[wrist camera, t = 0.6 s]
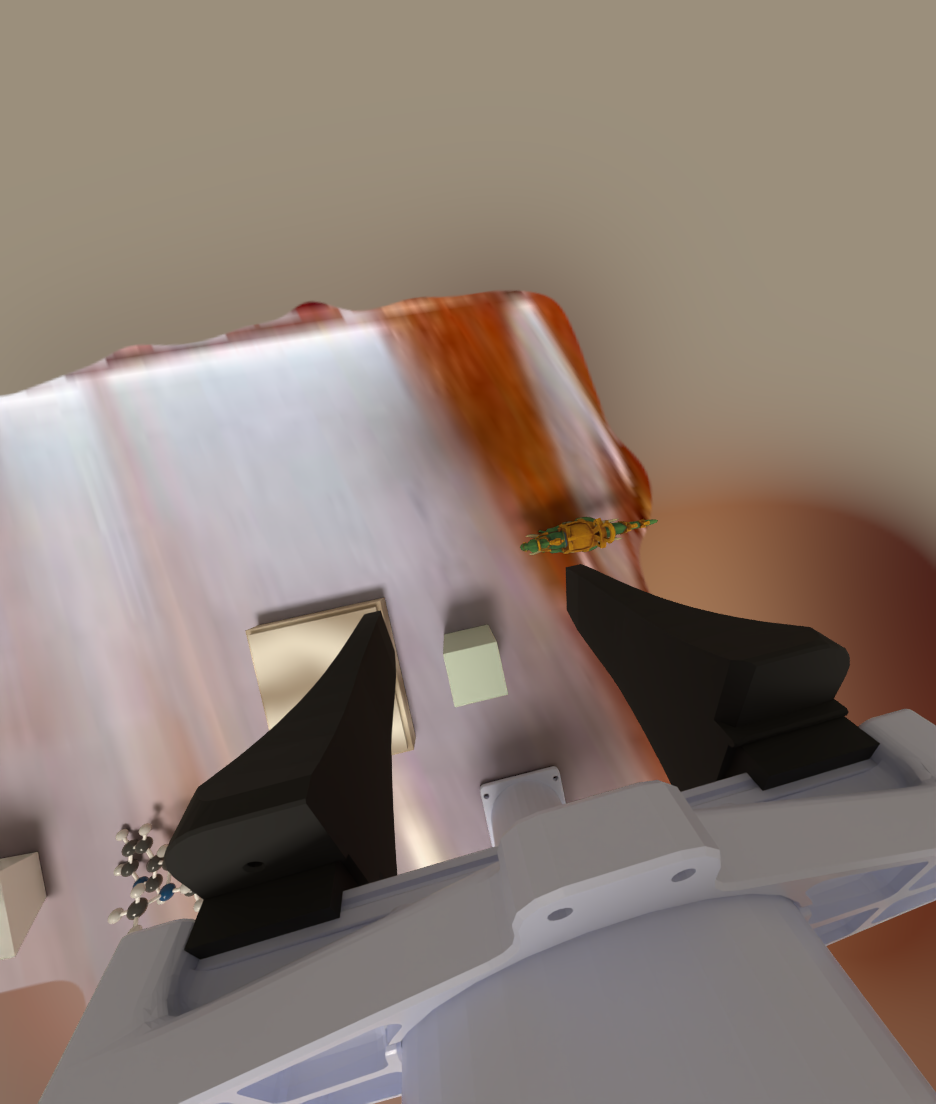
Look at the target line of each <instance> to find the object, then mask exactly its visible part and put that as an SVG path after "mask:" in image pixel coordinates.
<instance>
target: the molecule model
mask: <svg viewBox="0 0 936 1104" xmlns="http://www.w3.org/2000/svg"><path fill="white" fill-rule="evenodd" d="M151 828H152V825H151V824H149V823H147V824H144V825H143V826H142V827H141V828H140V829H139V834H140V835H142V836H143V838H142V839H141V840H136V839H134V840H131V841H129V840H128V839H127V836H128V833H129V831H128V830H127V829H122V830H120V831H119V832H118V833H117V835H116V840H117V841H121V840H123V841H124V842H125V845H124V847H123V849H122V855H123V856H125V857H129V858H128V862H126V863H125V864H120V865H118V866H117V867H116V868H115V870H114V875H115V876H120V875H122V876H123V877H128V876H130V875H132V876H133V877H134V879H135V880H136V882H135V883H134V885H133V888H132V890H131V893H130V896H131V897H132V898H136V900H135V901H134V902H133V903H132V904H131V905H130V906H129V908H128V910H126V911H124V910H123V909H122V908H117V909H115V910H114V911H112V912H111V914H110V915H109V917H108V922H109V923H110V924H114V923H116V922H118V921H119V920H120V919H121V918H122V916H123V915H126V914H127V918H128V919H129V920H134V924H133V927H132V928H131V929H130V931H129V932H128V934H129V933H132V932H135V931H139V930H142V926H141V925H138V918H139V917H140V916H141V915H142V914H143V913H144V912H145V911H146V909H147V906H148V904H150V903H152V902H154V901H155V900H157V904H159V905H161V904H163V903H165V902H166V901H167V900H169V899H170V898H171V897H172V896H173V895H174V893H175V892H178V891H180V893H181V894H184V895H185V896H188V897H189V896H193V895H194V896H195V899H196V902H195V904H194V911H195V912H199V910H200V907H201V905H202V902H203V899H202V898H200V897H199V896H198V895H197V894H195V893H194V892H193V891H191V890H190V889H189V888H187V887H186V886H185V885H183V884H182V885H181V887H179V888H176V886H175V884H174V883H170V881H171V874H170V873H169V872H168V876H167V883H166V885H165V886H163V887H162V889H160V888H159V887H160V885H161V884H162V881H163V877H162V875H161V874H157V870H159V869H160V868H161V867H162V868H163V869H164V870H166V871H167V869H166V867H165V863H164V859H163V857H164V854H165V851H166V848H167V846H168V844H165V845H163V846H161V847H160V848H159V850H158V852H157V855H155V856H154V855H153V853H152V852H151V850H150V848H151V846H152V844H153V839H152V838H151V837H147V834H148V833H149V832H150V831H151ZM145 852H146V853H147V855H148V856H149V858H150V860H149V862H148V863H147V871H148V872H153V876H151V877H150V878H148V877H147V876H143V877H140V878H139V877H138V875H137V874H136V872H135V871H136V870H137V869H138V866H139V861H138V860H137V859H132V858H133V854H135V853H137V854H143V853H145ZM155 890H156V891H157V893H158V896H156V897H154V898H152V899H150V900H147V899H146V898H140V896H141V895H142V894H143V893H144V891H146V892H149V893H150V892H153V891H155Z"/></svg>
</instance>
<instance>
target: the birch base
mask: <svg viewBox="0 0 936 1104" xmlns="http://www.w3.org/2000/svg"><path fill="white" fill-rule="evenodd" d="M380 610H381V613H382V616H383V618H384V621H385V624H386V627H387V630H388V633H389V636H390V638H391V641H392V644H393V647H394V650H395V660H396V687H395V700H394V713H393V726H392V744H391V752H392V755H395V754H399V753H403V752H407V751H411V750H414V745H415V739H416V736H415V732H414V727H413V723H412V718H411V714H410V709H409V705H408V701H407V696H406V692H405V687H404V683H403V678H402V674H401V669H400V665H399V660H398V656H397V652H396V647H395V643H394V638H393V634H392V629H391V625H390V620H389V616H388V611H387V607H386V602H385V598H380V599H375V600H371V601H366V602H361V603H357V604H352V605H348V606H343V607H339V608H334V609H330V610H325V611H321V612H316V613H312V614H307V615H303V616H298V617H294V618H289V619H285V620H280V621H276V622H271V623H267V624H262V625H258V626H256V627H253V628H251V629H248V630H246V635H247V639H248V643H249V648H250V652H251V656H252V660H253V664H254V669H255V673H256V677H257V681H258V685H259V690H260V694H261V698H262V702H263V706H264V711H265V715H266V719H267V723H268V727H269V730H271V729H272V728H273V727H274V726H275V725H276V724H277V723H278V722H279V721H280V720H281V719H282V718H283V717H284V716H285V715H286V714H287V713H288V712H289V711H290V710H291V709H292V708H293V707H294V706H295V705H296V704H297V703H298V702H299V701H300V700H301V699H302V698H303V697H304V696H305V695H306V694H307V693H308V692H309V690H310V689H311V688H312V687H313V686H314V685H315V684H316V682H317V681H318V680H319V679H320V678H321V676H322V675H323V674H324V672H325V671H326V670H327V668H328V667H329V666H330V664H331V663H332V662H333V660H334V659H335V658H336V656H337V655H338V653H339V652H340V650H341V649H342V648H343V646H344V645H345V643H346V642H347V640H348V639H349V637H350V635H351V634H352V632H353V631H354V629H355V628H356V626H357V624H358V623H359V621H360V620H361V618H362V617H363V615H364V614H367V613H371V612H376V611H380Z"/></svg>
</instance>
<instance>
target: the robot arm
mask: <svg viewBox="0 0 936 1104" xmlns="http://www.w3.org/2000/svg"><path fill="white" fill-rule="evenodd" d="M566 596H567V611H568V613H569V615H570V617H571V619H572V621H573V622H574V624H575V626H576V628H577V630H578V631H579V633H580V634H581V636H582V637H583V638H584V640H585V641H586V643H587V644H588V645H589V647H590V648H591V649H592V651H593V652H594V653H595V655H596V656H597V658H598V659H599V660H600V662H601V663H602V664H603V666H604V667H605V668H606V670H607V671H608V673H609V674H610V675H611V677H612V678H613V680H614V681H615V683H616V684H617V686H618V687H619V689H620V690H621V692H622V694H623V696H624V697H625V699H626V701H627V702H628V704H629V706H630V707H631V709H632V711H633V713H634V714H635V716H636V718H637V720H638V722H639V723H640V725H641V727H642V729H643V731H644V732H645V734H646V736H647V738H648V740H649V742H650V744H651V746H652V747H653V749H654V751H655V753H656V755H657V757H658V759H659V761H660V763H661V765H662V767H663V768H664V770H665V773H666V775H667V777H668V779H669V781H670V783H671V785H670V784H667V783H664V782H661V781H659V780H655V781H647V782H640V783H635V784H632V785H628V786H625V787H621V788H618V789H615V790H611V791H608V792H604V793H601V794H597V795H594V796H590V797H587V798H583V799H580V800H576V801H573V802H570V803H566V801H565V796H564V791H563V787H562V782H561V777H560V772H559V770H558V768H557V767H555V766H552V767H548V768H544V769H540V770H536V771H533V772H529V773H525V774H521V775H517V776H513V777H509V778H505V779H501V780H497V781H493V782H490V783H486V784H483V785H481V787H480V793H481V798H482V803H483V807H484V812H485V816H486V821H487V825H488V830H489V834H490V839H491V844H492V848H488V849H485V850H481V851H478V852H475V853H471V854H468V855H464V856H461V857H458V858H454V859H451V860H447V861H444V862H441V863H437V864H434V865H430V866H427V867H424V868H420V869H417V870H413V871H410V872H407V873H403V874H400V875H397V864H396V850H395V832H394V813H393V788H392V752H391V744H392V726H393V713H394V700H395V687H396V660H395V650H394V647H393V644H392V641H391V638H390V636H389V633H388V630H387V627H386V624H385V621H384V618H383V616H382V613H381V610H380V611H376V612H371V613H367V614H364V615H363V617H362V618H361V620H360V621H359V623H358V624H357V626H356V628H355V629H354V631H353V632H352V634H351V635H350V637H349V639H348V640H347V642H346V643H345V645H344V646H343V648H342V649H341V650H340V652H339V653H338V655H337V656H336V658H335V659H334V660H333V662H332V663H331V664H330V666H329V667H328V668H327V670H326V671H325V672H324V674H323V675H322V676H321V678H320V679H319V680H318V681H317V682H316V684H315V685H314V686H313V687H312V688H311V689H310V690H309V692H308V693H307V694H306V695H305V696H304V697H303V698H302V699H301V700H300V701H299V702H298V703H297V704H296V705H295V706H294V707H293V708H292V709H291V710H290V711H289V712H288V713H287V714H286V715H285V716H284V717H283V718H282V719H281V720H280V721H279V722H278V723H277V724H276V725H275V726H274V727H273V728H272V729H271V730H269V731H268V732H267V733H266V734H265V735H264V736H263V737H262V738H260V739H259V740H258V741H257V742H256V743H255V744H253V745H252V746H251V747H250V748H249V749H247V750H246V751H245V752H244V753H242V754H241V755H240V756H239V757H238V758H236V759H235V760H234V761H232V762H231V763H230V764H228V765H227V766H226V767H224V768H223V769H222V770H220V771H219V772H218V773H216V774H215V775H214V776H213V777H211V778H210V779H209V780H207V781H206V782H205V783H203V784H202V785H200V786H199V787H198V788H197V790H196V792H195V794H194V795H193V797H192V799H191V801H190V803H189V805H188V807H187V809H186V811H185V813H184V815H183V817H182V819H181V821H180V823H179V825H178V827H177V829H176V831H175V833H174V834H173V836H172V838H171V840H170V842H169V844H168V846H167V848H166V851H165V854H164V857H163V859H164V863H165V867H166V869H167V871H168V872H169V873H170V874H171V875H172V876H173V877H174V878H175V879H177V880H178V881H179V882H181V883H182V884H183V885H185V886H186V887H187V888H189V889H190V890H191V891H193V892H194V893H195V894H197V895H198V896H199V897H201V898H202V899H203V902H202V905H201V907H200V910H199V913H198V915H197V918H196V920H194V919H179V920H173V921H170V922H167V923H163V924H160V925H156V926H153V927H149V928H146V929H142V930H139V931H135V932H132V933H129V934H127V935H126V936H124V937H123V938H122V939H121V941H120V943H119V945H118V947H117V949H116V951H115V953H114V955H113V957H112V958H111V960H110V962H109V964H108V966H107V968H106V970H105V972H104V974H103V976H102V978H101V980H100V982H99V984H98V986H97V988H96V990H95V992H94V994H93V996H92V998H91V1000H90V1002H89V1004H88V1006H87V1008H86V1010H85V1012H84V1014H83V1016H82V1018H81V1020H80V1021H79V1023H78V1025H77V1027H76V1029H75V1032H74V1033H73V1035H72V1037H71V1039H70V1041H69V1043H68V1045H67V1047H66V1049H65V1051H64V1053H63V1055H62V1057H61V1059H60V1061H59V1063H58V1065H57V1067H56V1069H55V1071H54V1073H53V1075H52V1077H51V1079H50V1081H49V1083H48V1085H47V1086H46V1088H45V1090H44V1092H43V1094H42V1096H41V1098H40V1100H39V1102H38V1104H373V1103H377V1102H381V1101H384V1100H388V1099H391V1098H395V1097H399V1096H402V1104H936V1092H935V1091H934V1090H933V1088H932V1087H931V1085H930V1084H929V1083H928V1082H927V1080H926V1079H925V1077H924V1076H923V1075H922V1073H921V1072H920V1071H919V1070H918V1068H917V1067H916V1066H915V1064H914V1063H913V1062H912V1060H911V1059H910V1057H909V1056H908V1055H907V1053H906V1052H905V1051H904V1050H903V1048H902V1047H901V1046H900V1044H899V1043H898V1041H897V1040H896V1039H895V1038H894V1036H893V1035H892V1034H891V1032H890V1031H889V1030H888V1028H887V1027H886V1026H885V1024H884V1023H883V1022H882V1020H881V1019H880V1018H879V1016H878V1015H877V1014H876V1012H875V1011H874V1010H873V1008H872V1007H871V1006H870V1004H869V1003H868V1002H867V1000H866V999H865V998H864V996H863V995H862V994H861V992H860V991H859V990H858V988H857V987H856V986H855V984H854V983H853V982H852V980H851V979H850V978H849V976H848V975H847V974H846V972H845V971H844V970H843V968H842V967H841V966H840V964H839V963H838V962H837V961H836V959H835V958H834V956H833V955H832V954H831V952H830V951H829V950H828V948H827V947H826V946H827V945H829V944H832V943H834V942H836V941H839V940H841V939H843V938H846V937H848V936H850V935H853V934H855V933H858V932H860V931H862V930H865V929H867V928H869V927H872V926H874V925H877V924H879V923H881V922H884V921H886V920H889V919H890V918H893V917H896V916H898V915H901V914H903V913H905V912H908V911H910V910H912V909H915V908H918V907H920V906H923V905H925V904H927V903H930V902H932V901H935V900H936V726H935V725H934V724H932V723H931V722H929V721H928V720H926V719H924V718H923V717H921V716H920V715H918V714H917V713H915V712H914V711H912V710H910V709H902V710H899V711H895V712H892V713H888V714H885V715H882V716H878V717H875V718H871V719H869V720H867V721H865V722H864V723H862V724H861V725H859V726H856V725H855V724H854V723H852V722H851V721H850V720H848V719H847V718H846V717H844V716H845V715H847V714H848V710H847V708H846V707H844V706H843V705H841V704H840V703H839V702H838V701H836V700H835V699H834V697H835V695H836V693H837V691H838V690H839V688H840V686H841V684H842V682H843V680H844V678H845V676H846V674H847V671H848V669H849V666H850V657H849V654H848V652H847V650H846V649H845V648H843V647H842V646H840V645H839V644H837V643H835V642H834V641H832V640H830V639H829V638H827V637H826V636H824V635H822V634H821V633H819V632H817V631H816V630H814V629H813V628H811V627H804V626H795V625H787V624H778V623H770V622H762V621H756V620H749V619H744V618H738V617H733V616H728V615H723V614H718V613H714V612H710V611H705V610H701V609H697V608H693V607H689V606H686V605H683V604H679V603H676V602H673V601H670V600H666V599H663V598H660V597H658V596H655V595H652V594H650V593H647V592H644V591H642V590H639V589H637V588H634V587H632V586H629V585H627V584H625V583H622V582H620V581H618V580H616V579H614V578H611V577H609V576H607V575H605V574H603V573H600V572H598V571H596V570H594V569H592V568H589V567H587V566H584V565H582V564H579V565H575V566H570V567H566ZM554 776H557V777H556V778H553V777H554ZM484 794H488V795H487V796H484Z"/></svg>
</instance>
